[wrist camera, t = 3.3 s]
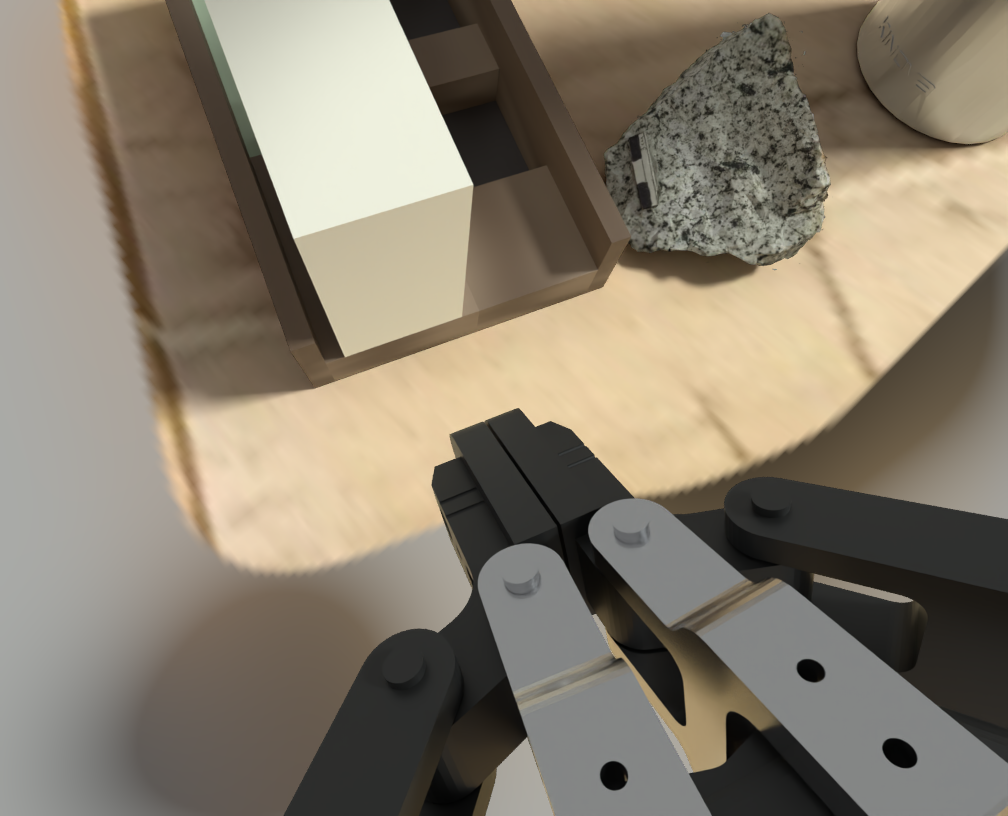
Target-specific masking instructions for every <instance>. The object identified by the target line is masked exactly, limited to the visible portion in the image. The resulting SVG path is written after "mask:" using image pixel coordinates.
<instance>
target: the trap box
mask: <svg viewBox="0 0 1008 816" xmlns="http://www.w3.org/2000/svg"><path fill="white" fill-rule="evenodd" d="M165 1H166V4H167V6H168V9H169V12H170V15H171V18H172V20H173V23H174V26H175V29H176V32H177V34H178V37H179V40H180V43H181V46H182V48H183V51H184V54H185V57H186V60H187V62H188V65H189V68H190V71H191V74H192V76H193V79H194V82H195V85H196V88H197V90H198V93H199V96H200V99H201V102H202V104H203V107H204V110H205V113H206V116H207V119H208V121H209V124H210V127H211V130H212V133H213V135H214V138H215V141H216V144H217V147H218V149H219V152H220V155H221V158H222V161H223V163H224V166H225V169H226V172H227V175H228V177H229V180H230V183H231V186H232V189H233V191H234V194H235V197H236V200H237V203H238V205H239V208H240V211H241V214H242V217H243V219H244V222H245V225H246V228H247V231H248V234H249V236H250V239H251V242H252V245H253V248H254V250H255V253H256V256H257V259H258V262H259V264H260V267H261V270H262V273H263V276H264V278H265V281H266V284H267V287H268V290H269V292H270V295H271V298H272V301H273V304H274V306H275V309H276V312H277V315H278V318H279V320H280V323H281V326H282V329H283V332H284V334H285V337H286V340H287V343H288V346H289V348H290V351H291V353H292V354H293V356H294V357H295V359H296V360H297V362H298V363H299V365H300V366H301V368H302V369H303V371H304V372H305V374H306V375H307V377H308V378H309V380H310V381H311V383H312V384H313V386H314V387H315V388H317V387H320V386H322V385H325V384H328V383H331V382H334V381H337V380H340V379H342V378H345V377H348V376H351V375H354V374H357V373H359V372H362V371H365V370H368V369H371V368H374V367H377V366H379V365H382V364H385V363H388V362H391V361H394V360H396V359H399V358H402V357H405V356H408V355H411V354H414V353H416V352H419V351H422V350H425V349H428V348H431V347H433V346H436V345H439V344H442V343H445V342H448V341H451V340H453V339H456V338H459V337H462V336H465V335H468V334H470V333H473V332H476V331H479V330H482V329H485V328H488V327H490V326H493V325H496V324H499V323H502V322H505V321H507V320H510V319H513V318H516V317H519V316H522V315H525V314H527V313H530V312H533V311H536V310H539V309H542V308H544V307H547V306H550V305H553V304H556V303H559V302H562V301H564V300H567V299H570V298H573V297H576V296H579V295H581V294H584V293H587V292H590V291H593V290H596V289H599V288H601V287H603V286H604V284H605V283H606V281H607V279H608V277H609V275H610V274H611V272H612V270H613V268H614V267H615V265H616V263H617V261H618V260H619V258H620V256H621V254H622V252H623V251H624V249H625V247H626V245H627V244H628V242H629V240H630V238H631V235H630V233H629V231H628V229H627V227H626V225H625V223H624V221H623V219H622V217H621V215H620V213H619V211H618V209H617V207H616V205H615V203H614V201H613V199H612V197H611V195H610V194H609V192H608V190H607V188H606V186H605V184H604V182H603V180H602V178H601V176H600V174H599V172H598V170H597V168H596V166H595V164H594V162H593V160H592V158H591V156H590V154H589V152H588V150H587V148H586V146H585V145H584V143H583V141H582V139H581V137H580V135H579V133H578V131H577V129H576V127H575V125H574V123H573V121H572V119H571V117H570V115H569V113H568V111H567V109H566V107H565V105H564V103H563V101H562V99H561V97H560V95H559V94H558V92H557V90H556V88H555V86H554V84H553V82H552V80H551V78H550V76H549V74H548V72H547V70H546V68H545V66H544V64H543V62H542V60H541V58H540V56H539V54H538V52H537V50H536V48H535V46H534V45H533V43H532V41H531V39H530V37H529V35H528V33H527V31H526V29H525V27H524V25H523V23H522V21H521V19H520V17H519V15H518V13H517V11H516V9H515V7H514V5H513V3H512V1H511V0H389V1H390V3H391V5H392V7H393V10H394V12H395V14H396V16H397V18H398V21H399V23H400V25H401V27H402V29H403V32H404V34H405V36H406V38H407V40H408V42H409V45H410V47H411V49H412V51H413V53H414V56H415V58H416V60H417V62H418V64H419V67H420V69H421V71H422V73H423V75H424V78H425V80H426V82H427V84H428V86H429V89H430V91H431V93H432V95H433V97H434V100H435V102H436V104H437V106H438V108H439V110H440V113H441V115H442V117H443V119H444V121H445V124H446V126H447V128H448V130H449V132H450V135H451V137H452V139H453V141H454V143H455V146H456V148H457V150H458V152H459V154H460V157H461V159H462V161H463V163H464V165H465V167H466V170H467V172H468V174H469V176H470V178H471V181H472V183H473V195H472V206H471V218H470V230H469V241H468V253H467V264H466V276H465V288H464V299H463V311H462V317H460V318H457V319H454V320H452V321H449V322H446V323H443V324H440V325H437V326H434V327H431V328H428V329H425V330H423V331H420V332H417V333H414V334H411V335H408V336H405V337H402V338H399V339H396V340H394V341H391V342H388V343H385V344H382V345H379V346H376V347H373V348H370V349H367V350H365V351H362V352H359V353H356V354H353V355H350V356H347V357H345V356H344V354H343V352H342V349H341V347H340V345H339V342H338V340H337V338H336V335H335V333H334V331H333V329H332V326H331V324H330V322H329V319H328V317H327V315H326V312H325V310H324V308H323V306H322V303H321V301H320V299H319V296H318V294H317V292H316V289H315V287H314V285H313V282H312V280H311V278H310V276H309V273H308V271H307V269H306V266H305V264H304V262H303V259H302V257H301V255H300V252H299V250H298V248H297V246H296V243H295V241H294V239H293V236H292V233H291V231H290V228H289V225H288V223H287V220H286V217H285V215H284V212H283V209H282V206H281V204H280V201H279V198H278V196H277V193H276V190H275V188H274V185H273V182H272V180H271V177H270V174H269V172H268V169H267V166H266V164H265V161H264V158H263V156H262V153H261V150H260V148H259V145H258V142H257V140H256V137H255V134H254V132H253V129H252V126H251V124H250V121H249V118H248V116H247V113H246V110H245V108H244V105H243V102H242V100H241V97H240V94H239V91H238V89H237V86H236V83H235V81H234V78H233V75H232V73H231V70H230V67H229V65H228V62H227V59H226V57H225V54H224V51H223V49H222V46H221V43H220V41H219V38H218V35H217V33H216V30H215V27H214V25H213V22H212V19H211V17H210V14H209V11H208V9H207V6H206V3H205V1H204V0H165Z"/></svg>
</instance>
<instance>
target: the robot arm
mask: <svg viewBox="0 0 1008 816" xmlns="http://www.w3.org/2000/svg"><path fill="white" fill-rule="evenodd" d="M857 52H858V60H859V64H860V67H861V71H862V74H863V76H864V78H865V80H866V82H867V83H868V85H869V87H870V89H871V91H872V92H873V93H874V94H875V96H876V97H877V98H878V100H879V101H880V102H881V103H882V105H884V106H885V107H886V108H887V109H888V110H889V111H890V112H891V113H892V114H893V115H894V116H895V117H897V118H898V119H899V120H901V121H902V122H904V123H906V124H907V125H909V126H910V127H912V128H913V129H915V130H917V131H919V132H921V133H924V134H926V135H928V136H930V137H933V138H936V139H940V140H944V141H947V142H951V143H963V144H974V143H983V142H988V141H991V140H994V139H996V138H999V137H1002V136H1003V135H1004V134H1006V133H1007V132H1008V0H879V1H878V2H877V4H876V5H875V6H874V8H873V9H872V10H871V12H870V13H869V14H868V16H867V17H866V19H865V21H864V22H863V24H862V26H861V28H860V32H859V36H858V40H857ZM450 440H451V444H452V447H453V450H454V454H455V457H456V459H453V460H451V461H448V462H446V463H443V464H441V465H438V466H435V469H434V474H433V480H432V488H433V491H434V494H435V497H436V500H437V503H438V505H439V508H440V511H441V514H442V517H443V520H444V523H445V526H446V529H447V531H448V534H449V537H450V540H451V542H452V545H453V547H454V549H455V551H456V554H457V556H458V558H459V560H460V563H461V565H462V567H463V569H464V572H465V574H466V576H467V578H468V581H469V583H470V585H471V587H472V593H471V596H470V598H469V601H468V603H467V605H466V606H465V608H464V609H463V610H462V612H461V613H460V614H459V615H458V616H457V617H456V618H455V619H454V620H453V621H452V622H451V623H449V624H448V625H447V626H446V627H445V628H443V629H442V630H441V631H440V632H438V633H437V632H435V631H432V630H427V629H411V630H406V631H403V632H400V633H397V634H395V635H393V636H391V637H389V638H388V639H386V640H385V641H383V642H382V643H381V644H379V645H378V646H377V647H376V648H375V649H374V650H373V651H372V652H371V654H370V655H369V656H368V657H367V659H366V661H365V662H364V664H363V666H362V668H361V670H360V671H359V673H358V676H357V677H356V679H355V681H354V683H353V685H352V687H351V689H350V690H349V692H348V694H347V696H346V698H345V700H344V702H343V704H342V706H341V708H340V709H339V711H338V713H337V715H336V717H335V719H334V721H333V723H332V725H331V727H330V729H329V730H328V733H327V734H326V736H325V738H324V740H323V742H322V744H321V746H320V747H319V749H318V751H317V753H316V755H315V757H314V759H313V761H312V763H311V765H310V767H309V769H308V770H307V772H306V774H305V776H304V778H303V780H302V782H301V784H300V786H299V787H298V790H297V791H296V793H295V795H294V797H293V799H292V801H291V803H290V805H289V806H288V808H287V810H286V812H285V814H284V816H485V815H486V811H487V808H488V804H489V801H490V797H491V794H492V790H493V787H494V784H495V779H496V770H497V767H498V766H499V765H500V764H501V763H502V761H504V760H505V759H506V758H507V757H508V756H509V754H511V753H512V752H513V750H515V749H516V748H517V747H518V746H519V745H520V744H521V742H522V741H523V740H524V739H525V738H526V737H527V738H528V741H529V744H530V746H531V749H532V752H533V755H534V758H535V761H536V764H537V767H538V770H539V773H540V776H541V779H542V782H543V785H544V788H545V791H546V793H547V796H548V800H549V802H550V805H551V809H552V811H553V814H554V816H1008V519H1003V518H998V517H992V516H987V515H981V514H976V513H969V512H965V511H959V510H953V509H948V508H942V507H937V506H931V505H925V504H920V503H915V502H909V501H904V500H898V499H892V498H887V497H881V496H875V495H870V494H864V493H859V492H854V491H847V490H843V489H837V488H831V487H826V486H820V485H815V484H809V483H804V482H798V481H792V480H787V479H782V478H774V477H758V478H752V479H748V480H745V481H742V482H740V483H738V484H736V485H735V486H734V487H732V488H731V489H730V490H729V492H728V493H727V495H726V497H725V501H724V508H723V509H717V510H711V511H705V512H698V513H692V514H671V513H670V512H669V511H668V510H666V509H665V508H664V507H662V506H661V505H659V504H657V503H655V502H652V501H649V500H644V499H635V498H634V497H633V496H632V495H631V494H630V493H629V492H628V490H627V489H626V488H625V487H624V486H623V485H622V484H621V483H620V482H619V481H618V480H617V479H616V478H615V476H614V475H613V474H612V473H611V472H610V471H609V470H608V469H607V468H606V467H605V466H604V465H603V464H602V462H601V461H600V460H599V459H598V458H595V456H594V454H593V453H592V452H591V451H590V450H589V449H588V447H587V446H584V443H583V442H582V441H581V440H580V439H579V438H578V437H577V436H576V435H575V433H574V432H573V431H572V430H571V429H568V428H566V427H563V426H561V425H559V424H556V423H554V422H551V421H550V422H547V423H545V424H542V425H540V426H537V427H535V426H534V425H533V424H532V423H531V422H530V420H529V419H528V418H527V417H526V416H525V414H524V413H523V412H522V411H521V410H520V409H519V408H517V409H514V410H512V411H509V412H506V413H504V414H501V415H498V416H496V417H493V418H491V419H488V420H486V421H485V423H484V422H481V423H478V424H475V425H473V426H470V427H468V428H465V429H462V430H460V431H457V432H454V433H452V434H450ZM814 574H818V575H822V576H826V577H830V578H835V579H839V580H842V581H846V582H851V583H854V584H859V585H863V586H866V587H871V588H875V589H879V590H883V591H886V592H890V593H895V594H898V595H902V596H905V597H908V598H910V599H912V600H914V601H912V602H908V603H898V602H892V601H888V600H884V599H880V598H876V597H872V596H868V595H865V594H861V593H857V592H853V591H849V590H845V589H841V588H837V587H833V586H829V585H826V584H822V583H817V582H814V581H813V580H814ZM594 614H597V616H598V617H599V619H600V620H601V622H602V623H603V625H604V626H605V629H606V635H607V640H608V645H609V647H608V645H607V643H606V641H605V639H604V637H603V635H602V633H601V632H600V630H599V628H598V626H597V624H596V622H595V621H594V618H593V617H592V615H594ZM609 648H610V649H609ZM611 651H612V652H611ZM612 653H613V654H612ZM614 656H615V657H616V658H615V657H614ZM650 703H651V704H650ZM651 705H652V706H653V707H654V709H655V710H656V711H657V713H658V714H659V715H660V717H661V718H662V719H663V720H664V722H665V723H666V725H667V726H668V727H669V729H670V730H671V731H672V732H673V734H674V735H675V737H676V738H677V739H678V741H679V743H680V744H681V746H682V748H683V749H684V751H685V753H686V756H687V758H688V761H689V763H690V766H691V768H692V770H693V772H694V773H688V771H687V770H686V768H685V766H684V764H683V763H682V761H681V759H680V757H679V755H678V753H677V751H676V750H675V748H674V746H673V744H672V742H671V741H670V739H669V737H668V735H667V733H666V731H665V730H664V728H663V726H662V724H661V722H660V720H659V719H658V717H657V715H656V713H655V711H654V710H653V708H652V706H651Z"/></svg>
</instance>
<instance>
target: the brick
mask: <svg viewBox="0 0 1008 816" xmlns="http://www.w3.org/2000/svg"><path fill="white" fill-rule="evenodd" d="M204 1H205V3H206V6H207V9H208V11H209V14H210V17H211V19H212V22H213V25H214V27H215V30H216V33H217V35H218V38H219V41H220V43H221V46H222V49H223V51H224V54H225V57H226V59H227V62H228V65H229V67H230V70H231V73H232V75H233V78H234V81H235V83H236V86H237V89H238V91H239V94H240V97H241V100H242V102H243V105H244V108H245V110H246V113H247V116H248V118H249V121H250V124H251V126H252V129H253V132H254V134H255V137H256V140H257V142H258V145H259V148H260V150H261V153H262V156H263V158H264V161H265V164H266V166H267V169H268V172H269V174H270V177H271V180H272V182H273V185H274V188H275V190H276V193H277V196H278V198H279V201H280V204H281V206H282V209H283V212H284V215H285V217H286V220H287V223H288V225H289V228H290V231H291V233H292V236H293V239H294V241H295V243H296V246H297V248H298V250H299V252H300V255H301V257H302V259H303V262H304V264H305V266H306V269H307V271H308V273H309V276H310V278H311V280H312V282H313V285H314V287H315V289H316V292H317V294H318V296H319V299H320V301H321V303H322V306H323V308H324V310H325V312H326V315H327V317H328V319H329V322H330V324H331V326H332V329H333V331H334V333H335V335H336V338H337V340H338V342H339V345H340V347H341V349H342V352H343V354H344V356H345V357H347V356H350V355H353V354H356V353H359V352H362V351H365V350H367V349H370V348H373V347H376V346H379V345H382V344H385V343H388V342H391V341H394V340H396V339H399V338H402V337H405V336H408V335H411V334H414V333H417V332H420V331H423V330H425V329H428V328H431V327H434V326H437V325H440V324H443V323H446V322H449V321H452V320H454V319H457V318H460V317H462V311H463V299H464V288H465V276H466V264H467V253H468V241H469V230H470V218H471V206H472V195H473V183H472V181H471V178H470V176H469V174H468V172H467V170H466V167H465V165H464V163H463V161H462V159H461V157H460V154H459V152H458V150H457V148H456V146H455V143H454V141H453V139H452V137H451V135H450V132H449V130H448V128H447V126H446V124H445V121H444V119H443V117H442V115H441V113H440V110H439V108H438V106H437V104H436V102H435V100H434V97H433V95H432V93H431V91H430V89H429V86H428V84H427V82H426V80H425V78H424V75H423V73H422V71H421V69H420V67H419V64H418V62H417V60H416V58H415V56H414V53H413V51H412V49H411V47H410V45H409V42H408V40H407V38H406V36H405V34H404V32H403V29H402V27H401V25H400V23H399V21H398V18H397V16H396V14H395V12H394V10H393V7H392V5H391V3H390V1H389V0H204Z"/></svg>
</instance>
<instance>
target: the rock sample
mask: <svg viewBox="0 0 1008 816" xmlns="http://www.w3.org/2000/svg"><path fill="white" fill-rule="evenodd" d="M737 23H738V22H737ZM784 23H785V22H784ZM743 26H744V28H743V29H742V30H741V31H738V32H734V31H733V32H732V33H729V32H723V33H722V34H721V35H720V36H721V37H723V41H721V42H720V43H719V44H718V45H716V46H714V47H712V48H711V49H709V50H708V51H707V50H706V52H705V53H704V54H703V55H702V56H701V57H699V58H698V59H697V60H696V62H695V63H693V64H692V65H691V66H690V67H689V68H688V69H687V70H685V71H684V72H683V73H682V74H681V75H680V77H679V78H678V80H677V81H676V82H675V83H673V84H672V85H670V86H668V87H667V88H665V89H664V90H663V92H662V93H661V95H660V96H659V97H658V99H657V100H656V101H655V102H654V103H653V104H652V105H651V107H650V108H649V109H648V111H647V112H646V113H645V114H644V115H642V116H641V117H639V116H638V117H639V118H638V117H637V118H638V119H637V120H636V121H635V122H634V123H633V124H632V125H630V126H629V128H628V129H627V131H626V132H624V133H623V135H622V137H621V138H620V140H619V141H618V143H617V144H615V145H614V146H612V147H610V148H608V149H607V150H606V151H605V153H604V160H605V175H606V178H607V180H606V185H607V190H608V192H609V194H610V195H611V197H612V199H613V201H614V203H615V205H616V207H617V209H618V211H619V213H620V215H621V217H622V219H623V221H624V223H625V225H626V227H627V229H628V231H629V233H630V235H631V238H630V240H629V242H628V243H629V244H631V248H633V249H635V250H637V251H638V252H639V251H645V252H649V253H651V252H654V251H658V250H666V251H674V250H675V251H676V250H689V251H693V252H695V253H697V254H699V255H702V256H714V255H718V254H723V253H729V254H731V255H733V256H735V257H737V258H739V259H741V260H743V261H745V262H746V263H748V264H752V265H756V264H757V265H759V266H765V265H771V264H773V263H775V262H777V261H780V260H782V259H784V258H786V259H789V258H791V257H793V256H794V255H795V254H797V252H798V251H799V249H800V248H802V247H803V246H804V244H805V243H806V242H807V241H808V240H810V239H811V238H812V237H813V236H814V235H815V233H816V232H820V230H821V227H822V222H823V220H824V218H825V216H824V206H823V201H825V199H826V198H827V197H828V193H827V190H828V188H829V186H830V185H831V183H830V177H829V174H828V171H827V168H826V165H825V160H826V159H827V157H826V156H824V153H823V150H822V148H821V145H820V140H819V137H818V134H817V133H818V130H817V127H816V124H815V121H814V114H812V113H811V110H810V106H809V103H808V99H807V98H806V95H805V94H803V93H802V92H801V90H800V88H799V86H798V83H797V77H795V76H794V70H793V62H792V60H791V47H790V44H789V42H788V38H787V34H786V30H785V28H784V26H783V23H782V21H781V20H780V19H779V18H778V17H776V16H774V15H772V14H770V13H768V14H766V15H765V16H763V17H761V18H759V19H755V20H754V21H753V22H752V23H750V24H749V25H748V24H747V25H743ZM801 32H802V31H801ZM717 38H718V37H717ZM792 41H793V40H792ZM805 53H806V51H804V55H805ZM795 58H796V57H795ZM802 65H803V64H802ZM803 67H804V66H803ZM822 230H823V229H822ZM773 270H777V269H773Z"/></svg>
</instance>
